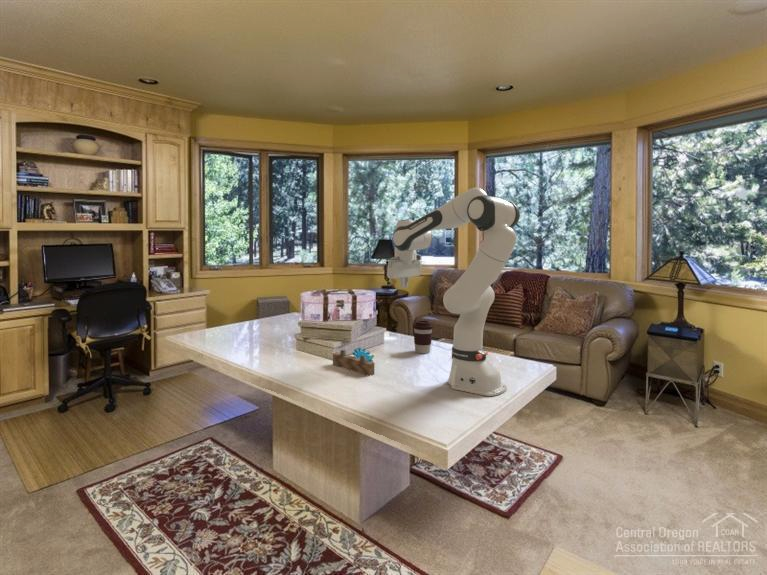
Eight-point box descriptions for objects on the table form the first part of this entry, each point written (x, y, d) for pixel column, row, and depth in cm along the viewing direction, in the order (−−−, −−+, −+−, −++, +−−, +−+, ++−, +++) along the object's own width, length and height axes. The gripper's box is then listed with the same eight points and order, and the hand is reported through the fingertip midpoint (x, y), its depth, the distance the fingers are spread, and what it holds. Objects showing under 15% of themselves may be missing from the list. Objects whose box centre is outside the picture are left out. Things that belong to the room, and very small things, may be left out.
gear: (357, 366, 188) (350, 346, 193) (351, 373, 191) (344, 353, 196) (379, 365, 194) (371, 346, 200) (372, 372, 198) (365, 353, 203)
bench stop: (374, 374, 183) (374, 357, 182) (369, 376, 181) (369, 359, 180) (337, 363, 198) (337, 347, 197) (332, 364, 195) (332, 349, 194)
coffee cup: (408, 352, 217) (409, 322, 215) (418, 348, 225) (418, 318, 224) (427, 355, 212) (427, 324, 210) (436, 351, 220) (436, 321, 218)
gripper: (394, 257, 189) (394, 290, 191) (423, 256, 204) (423, 286, 206) (383, 257, 193) (383, 288, 195) (412, 255, 209) (412, 285, 210)
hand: (404, 287), depth 201 cm, fingers closed
